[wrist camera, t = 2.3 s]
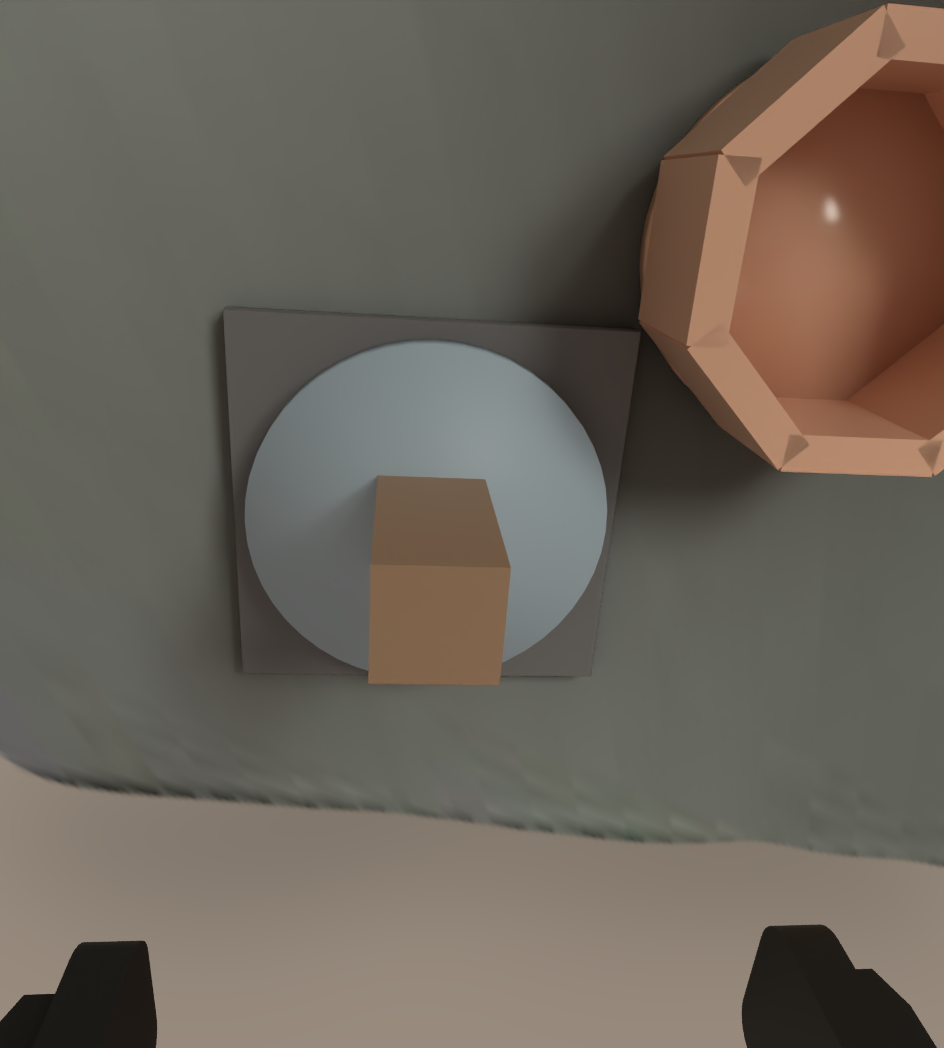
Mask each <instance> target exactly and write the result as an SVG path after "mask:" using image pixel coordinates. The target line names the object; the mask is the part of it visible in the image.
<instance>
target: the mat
mask: <svg viewBox="0 0 944 1048" xmlns="http://www.w3.org/2000/svg"><path fill="white" fill-rule="evenodd" d="M223 318H224V336H225V355H226V373H227V392H228V410H229V428H230V447H231V465H232V483H233V502H234V520H235V539H236V557H237V575H238V594H239V612H240V631H241V649H242V667H243V674H355V675H368V671H367V670H364V669H361V668H357V667H355V666H353V665H350V664H348V663H346V662H343V661H341V660H339V659H337V658H335V657H333V656H332V655H330V654H328V653H326V652H325V651H323V650H321V649H319V648H318V647H317V646H315V645H314V644H313V643H311V642H310V641H309V640H307V639H306V638H305V637H303V636H302V635H301V634H300V633H299V632H298V631H297V630H296V629H295V628H294V627H293V626H292V625H291V624H290V623H289V622H288V621H287V620H286V619H285V618H284V617H283V616H282V614H281V613H280V612H279V611H278V609H277V608H276V607H275V605H274V604H273V603H272V601H271V600H270V598H269V596H268V595H267V593H266V591H265V589H264V588H263V586H262V584H261V582H260V580H259V577H258V575H257V573H256V570H255V568H254V566H253V563H252V559H251V555H250V551H249V548H248V544H247V536H246V528H245V498H246V492H247V486H248V480H249V476H250V472H251V469H252V466H253V463H254V460H255V457H256V454H257V452H258V450H259V448H260V446H261V444H262V442H263V440H264V438H265V436H266V434H267V432H268V430H269V429H270V427H271V425H272V423H273V422H274V420H275V419H276V418H277V416H278V415H279V413H280V412H281V410H282V409H283V407H284V406H285V405H286V404H287V402H288V401H289V400H290V399H291V398H292V397H293V396H294V395H295V394H296V393H297V392H298V391H299V389H300V388H301V387H303V386H304V385H305V384H306V383H307V382H309V381H310V380H311V379H312V378H314V377H315V376H316V375H317V374H318V373H320V372H321V371H323V370H324V369H326V368H328V367H329V366H331V365H333V364H334V363H336V362H338V361H339V360H341V359H343V358H345V357H348V356H350V355H352V354H355V353H357V352H359V351H361V350H364V349H367V348H371V347H374V346H378V345H381V344H385V343H389V342H396V341H403V340H410V339H443V340H451V341H459V342H464V343H468V344H472V345H476V346H480V347H484V348H487V349H489V350H492V351H494V352H497V353H499V354H502V355H504V356H507V357H509V358H510V359H512V360H514V361H516V362H517V363H519V364H521V365H523V366H524V367H526V368H528V369H529V370H531V371H532V372H533V373H534V374H536V375H537V376H538V377H540V378H541V379H542V380H543V381H545V382H546V383H547V384H548V385H549V386H550V387H551V388H552V389H553V390H554V391H555V392H556V393H557V394H558V395H559V396H560V397H561V398H562V399H563V400H564V402H565V403H566V404H567V406H568V407H569V408H570V410H571V411H572V412H573V414H574V415H575V416H576V418H577V419H578V420H579V422H580V423H581V425H582V426H583V428H584V429H585V431H586V433H587V435H588V437H589V439H590V441H591V442H592V444H593V446H594V449H595V452H596V454H597V457H598V460H599V463H600V465H601V468H602V473H603V478H604V483H605V487H606V499H607V521H606V533H605V537H604V542H603V547H602V551H601V555H600V557H599V560H598V563H597V566H596V569H595V571H594V574H593V576H592V578H591V579H590V581H589V583H588V585H587V587H586V589H585V591H584V593H583V594H582V596H581V597H580V598H579V600H578V601H577V603H576V604H575V606H574V607H573V609H572V610H571V611H570V612H569V613H568V614H567V615H566V617H565V618H564V619H563V620H562V621H561V622H560V623H559V624H558V625H557V626H556V627H555V628H554V629H553V630H552V631H551V632H549V633H548V634H547V635H546V636H545V637H544V638H543V639H541V640H540V641H538V642H537V643H535V644H534V645H533V646H531V647H530V648H528V649H527V650H525V651H524V652H522V653H520V654H518V655H516V656H514V657H512V658H511V659H509V660H507V661H505V662H502V667H501V676H591V670H592V663H593V656H594V649H595V643H596V636H597V629H598V622H599V615H600V608H601V602H602V595H603V588H604V581H605V574H606V567H607V561H608V554H609V547H610V540H611V533H612V526H613V520H614V513H615V506H616V499H617V492H618V485H619V479H620V472H621V465H622V458H623V451H624V444H625V438H626V431H627V424H628V417H629V410H630V403H631V397H632V390H633V383H634V376H635V369H636V362H637V356H638V349H639V342H640V335H641V332H640V331H638V330H636V329H628V328H610V327H591V326H573V325H555V324H537V323H518V322H500V321H482V320H464V319H445V318H427V317H409V316H391V315H373V314H354V313H336V312H318V311H300V310H281V309H263V308H245V307H226V308H225V309H223Z"/></svg>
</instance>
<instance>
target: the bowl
mask: <svg viewBox="0 0 944 1048" xmlns="http://www.w3.org/2000/svg"><path fill="white" fill-rule="evenodd" d="M663 157H664V159H665V160H661V164H660V171H659V178H658V184H657V186H656V188H655V191H654V194H653V197H652V200H651V203H650V206H649V209H648V212H647V215H646V220H645V224H644V229H643V234H642V239H641V250H640V262H639V271H640V291H641V303H640V310H639V317H638V319H639V320H641V321H640V322H639V323H640V324H641V326H642V327H643V328H644V330H645V331H646V332H647V333H648V335H649V336H650V337H651V339H652V340H653V341H654V343H655V344H656V345H657V347H658V349H659V351H660V353H661V355H662V356H663V358H664V359H665V361H666V362H667V364H668V365H669V367H670V368H671V370H672V371H673V372H674V373H675V374H676V375H677V377H678V378H679V379H680V380H681V381H682V382H683V383H684V384H685V385H686V386H687V387H688V388H689V389H690V390H691V391H692V392H693V393H694V395H695V396H696V397H697V398H698V400H699V401H700V402H701V404H702V405H703V406H704V408H705V409H706V410H707V411H708V413H709V414H710V415H711V417H712V418H713V419H714V421H715V422H716V423H717V424H718V426H720V427H721V428H722V429H724V430H725V431H726V432H728V433H729V434H730V435H732V436H733V437H734V438H736V439H737V440H738V441H740V442H741V443H742V444H744V445H745V446H746V447H748V448H749V449H750V450H752V451H753V452H754V453H756V454H757V455H758V456H760V457H761V458H763V459H764V460H765V461H767V462H768V463H769V464H771V465H772V466H773V467H775V468H776V469H777V470H780V471H781V472H808V473H836V474H863V475H890V476H918V477H932V474H933V475H937V474H938V473H939V472H941V471H942V470H943V469H944V9H941V8H931V7H922V6H912V5H902V4H892V3H887V4H885V5H882V6H879V7H877V8H874V9H871V10H869V11H866V12H863V13H861V14H858V15H855V16H853V17H850V18H847V19H845V20H842V21H839V22H837V23H834V24H831V25H829V26H826V27H823V28H821V29H818V30H815V31H813V32H810V33H808V34H805V35H802V36H800V37H797V38H794V39H792V40H791V41H790V42H789V43H788V44H787V45H786V46H784V47H783V48H782V49H781V50H780V51H779V52H778V53H777V54H776V55H775V56H773V57H772V58H771V59H770V60H769V61H768V62H767V63H766V64H765V65H763V66H762V67H761V68H760V69H759V70H758V71H757V72H756V73H755V74H754V75H752V76H750V77H749V78H747V79H745V80H744V81H742V82H741V83H739V84H737V85H736V86H735V87H733V88H732V89H731V90H730V91H728V92H727V93H726V94H725V95H723V96H722V97H721V98H720V99H719V100H717V101H716V102H715V103H714V104H713V105H712V106H711V107H710V108H709V109H708V110H707V111H706V112H705V113H704V114H703V115H702V116H701V117H700V118H699V119H698V120H697V121H696V123H695V124H694V125H693V126H692V128H691V129H690V130H689V132H688V133H687V134H686V136H685V137H684V138H683V139H682V140H681V141H680V142H679V143H677V144H676V145H675V146H674V147H673V148H672V149H671V150H670V151H669V152H668V153H666V154H665V155H664V156H663Z"/></svg>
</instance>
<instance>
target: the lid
mask: <svg viewBox="0 0 944 1048" xmlns="http://www.w3.org/2000/svg"><path fill="white" fill-rule="evenodd" d="M606 521H607V499H606V487H605V483H604V478H603V473H602V468H601V465H600V463H599V460H598V457H597V454H596V452H595V449H594V446H593V444H592V442H591V441H590V439H589V437H588V435H587V433H586V431H585V429H584V428H583V426H582V425H581V423H580V422H579V420H578V419H577V418H576V416H575V415H574V414H573V412H572V411H571V410H570V408H569V407H568V406H567V404H566V403H565V402H564V400H563V399H562V398H561V397H560V396H559V395H558V394H557V393H556V392H555V391H554V390H553V389H552V388H551V387H550V386H549V385H548V384H547V383H546V382H545V381H543V380H542V379H541V378H540V377H538V376H537V375H536V374H534V373H533V372H532V371H531V370H529V369H528V368H526V367H524V366H523V365H521V364H519V363H517V362H516V361H514V360H512V359H510V358H509V357H507V356H504V355H502V354H499V353H497V352H494V351H492V350H489V349H487V348H484V347H480V346H476V345H472V344H468V343H464V342H459V341H451V340H443V339H410V340H403V341H396V342H389V343H385V344H381V345H378V346H374V347H371V348H367V349H364V350H361V351H359V352H357V353H355V354H352V355H350V356H348V357H345V358H343V359H341V360H339V361H338V362H336V363H334V364H333V365H331V366H329V367H328V368H326V369H324V370H323V371H321V372H320V373H318V374H317V375H316V376H315V377H314V378H312V379H311V380H310V381H309V382H307V383H306V384H305V385H304V386H303V387H301V388H300V389H299V391H298V392H297V393H296V394H295V395H294V396H293V397H292V398H291V399H290V400H289V401H288V402H287V404H286V405H285V406H284V407H283V409H282V410H281V412H280V413H279V415H278V416H277V418H276V419H275V420H274V422H273V423H272V425H271V427H270V429H269V430H268V432H267V434H266V436H265V438H264V440H263V442H262V444H261V446H260V448H259V450H258V452H257V454H256V457H255V460H254V463H253V466H252V469H251V472H250V476H249V480H248V486H247V492H246V498H245V528H246V536H247V544H248V548H249V551H250V555H251V559H252V563H253V566H254V568H255V570H256V573H257V575H258V577H259V580H260V582H261V584H262V586H263V588H264V589H265V591H266V593H267V595H268V596H269V598H270V600H271V601H272V603H273V604H274V605H275V607H276V608H277V609H278V611H279V612H280V613H281V614H282V616H283V617H284V618H285V619H286V620H287V621H288V622H289V623H290V624H291V625H292V626H293V627H294V628H295V629H296V630H297V631H298V632H299V633H300V634H301V635H302V636H303V637H305V638H306V639H307V640H309V641H310V642H311V643H313V644H314V645H315V646H317V647H318V648H319V649H321V650H323V651H325V652H326V653H328V654H330V655H332V656H333V657H335V658H337V659H339V660H341V661H343V662H346V663H348V664H350V665H353V666H355V667H357V668H361V669H364V670H367V671H368V684H433V685H500V677H501V667H502V662H505V661H507V660H509V659H511V658H512V657H514V656H516V655H518V654H520V653H522V652H524V651H525V650H527V649H528V648H530V647H531V646H533V645H534V644H535V643H537V642H538V641H540V640H541V639H543V638H544V637H545V636H546V635H547V634H548V633H549V632H551V631H552V630H553V629H554V628H555V627H556V626H557V625H558V624H559V623H560V622H561V621H562V620H563V619H564V618H565V617H566V615H567V614H568V613H569V612H570V611H571V610H572V609H573V607H574V606H575V604H576V603H577V601H578V600H579V598H580V597H581V596H582V594H583V593H584V591H585V589H586V587H587V585H588V583H589V581H590V579H591V578H592V576H593V574H594V571H595V569H596V566H597V563H598V560H599V557H600V555H601V551H602V547H603V542H604V537H605V533H606Z"/></svg>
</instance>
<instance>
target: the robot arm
mask: <svg viewBox="0 0 944 1048" xmlns="http://www.w3.org/2000/svg"><path fill="white" fill-rule="evenodd" d="M742 1024H743V1032H744V1037H745V1041H746V1045H747V1048H937V1047H936V1046H935V1044H934V1042H933V1041H932V1039H931V1038H930V1036H929V1034H928V1033H927V1031H926V1030H925V1028H924V1027H923V1025H922V1023H921V1022H920V1020H919V1019H918V1017H917V1015H916V1014H915V1012H914V1011H913V1009H912V1007H911V1006H910V1005H909V1004H908V1003H907V1002H906V1001H905V1000H904V999H903V998H902V997H901V996H900V995H899V994H898V993H897V992H895V990H894V989H893V988H891V987H890V986H889V985H888V984H887V983H886V982H885V981H884V980H883V979H882V978H881V977H880V976H879V975H878V974H877V973H876V972H875V971H874V970H873V969H855V968H854V966H853V964H852V962H851V961H850V959H849V957H848V956H847V954H846V952H845V951H844V949H843V947H842V945H841V944H840V942H839V940H838V939H837V937H836V936H835V935H834V933H833V932H832V931H831V930H830V929H829V928H827V927H826V926H824V925H791V926H769V927H767V928H765V930H764V932H763V934H762V936H761V940H760V943H759V947H758V950H757V954H756V957H755V960H754V964H753V967H752V971H751V974H750V978H749V981H748V985H747V988H746V992H745V995H744V999H743V1003H742ZM156 1039H157V1018H156V1009H155V1002H154V994H153V986H152V978H151V970H150V962H149V954H148V947H147V944H146V942H145V941H118V942H83V943H81V944H79V945H78V946H77V948H76V949H75V950H74V952H73V954H72V956H71V958H70V960H69V963H68V965H67V967H66V969H65V972H64V974H63V977H62V979H61V981H60V984H59V986H58V988H57V991H56V993H55V994H37V995H24V996H23V997H22V998H21V999H20V1000H19V1001H18V1002H17V1003H16V1005H15V1006H14V1007H13V1008H12V1009H11V1010H10V1011H9V1012H8V1013H7V1015H6V1016H5V1017H4V1018H3V1019H2V1020H1V1021H0V1048H156Z"/></svg>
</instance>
